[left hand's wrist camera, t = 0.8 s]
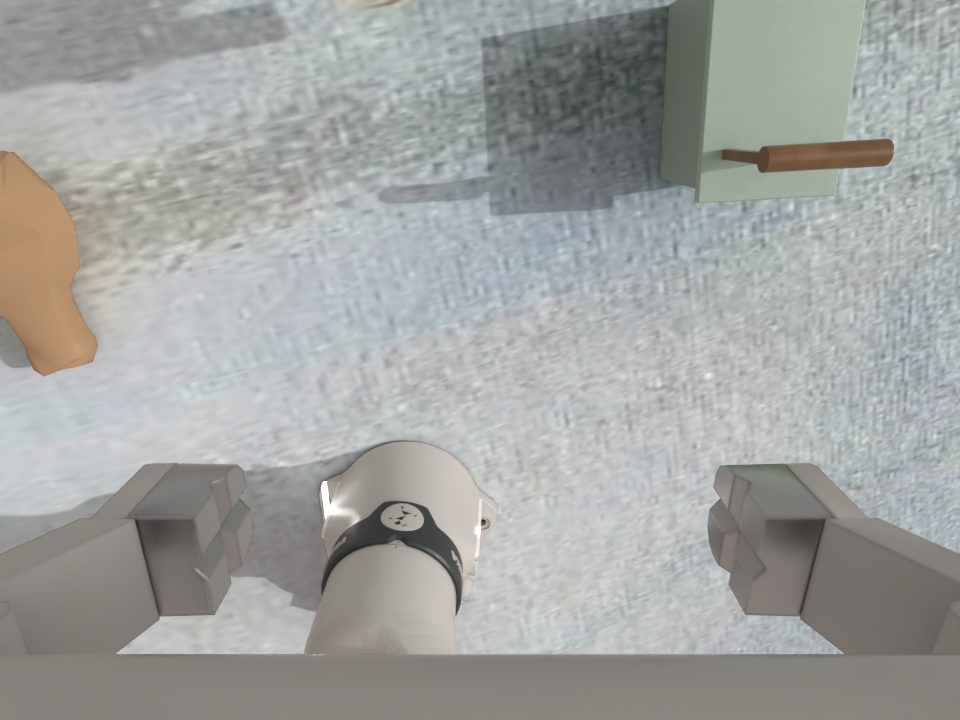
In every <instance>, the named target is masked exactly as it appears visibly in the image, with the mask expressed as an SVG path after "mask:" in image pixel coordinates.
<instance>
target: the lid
mask: <svg viewBox="0 0 960 720" xmlns="http://www.w3.org/2000/svg"><path fill="white" fill-rule="evenodd" d="M865 3H866V0H709V13H708V26H707V40H706V53H705V67H704V80H703V94H702V107H701V120H700V134H699V147H698V161H697V174H696V188H695V202H697V203H709V202H727V201H745V200H763V199H781V198H799V197H816V196H834V195H835V193H836V187H837V181H838V174H839V169H843V168H860V167H878V166H885V165H887V164H888V163H889V162H890V161H891V159H892V157H893V154H894V145H893V142H892V141H891V140H889V139H876V140H859V141H844V136H845V130H846V123H847V117H848V111H849V104H850V98H851V92H852V85H853V79H854V73H855V66H856V60H857V54H858V47H859V41H860V34H861V28H862V22H863V15H864V9H865Z"/></svg>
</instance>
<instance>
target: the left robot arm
mask: <svg viewBox="0 0 960 720" xmlns="http://www.w3.org/2000/svg"><path fill="white" fill-rule="evenodd" d="M245 489H246V482H245V477H244V472H243V470H242V469H241V467H240V466H239V465H234V464H183V463H181V464H178V463H152V464H147V465H144V466H143V467H142V468H141V469H140V470H139V471H138V472H137V473H136V474H135V475H134V476H133V477H132V478H131V479H130V480H129V481H128V482H127V483H126V484H125V485H124V486H123V487H122V488H121V489H120V490H119V491H118V492H117V493H116V494H115V495H114V496H113V497H112V498H111V499H110V500H109V501H108V502H107V503H106V504H105V505H104V506H103V507H102V508H101V509H100V510H99V511H98V512H97V513H96V514H95V515H94V516H93V517H92V518H82V519H79V520H76V521H74V522H72V523H69V524H67V525H65V526H63V527H60V528H58V529H56V530H54V531H51V532H49V533H47V534H45V535H42V536H40V537H38V538H36V539H33V540H31V541H29V542H27V543H24V544H22V545H20V546H18V547H15V548H13V549H11V550H8V551H6V552H4V553H2V554H0V720H960V554H958V553H956V552H954V551H951V550H949V549H947V548H945V547H942V546H940V545H938V544H936V543H933V542H931V541H929V540H927V539H924V538H922V537H920V536H918V535H915V534H913V533H911V532H909V531H906V530H904V529H902V528H900V527H897V526H895V525H893V524H890V523H888V522H886V521H884V520H881V519H879V518H868V517H867V516H866V515H865V514H864V513H863V512H862V511H861V510H860V509H859V508H858V507H857V506H856V505H855V504H854V503H853V502H852V501H851V500H850V499H849V498H848V497H847V496H846V495H845V494H844V493H843V492H842V491H841V490H840V489H839V488H838V487H837V486H836V485H835V484H834V483H833V482H832V481H831V480H830V479H829V478H828V477H827V476H826V475H825V474H824V473H823V472H822V471H821V470H820V469H819V468H818V467H817V466H816V465H813V464H811V463H790V464H755V465H723V466H719V468H718V471H717V473H716V476H715V481H714V489H715V490H716V492H717V493H718V495H719V497H720V499H719V500H718V501H717V502H716V503H715V504H714V505H713V506H712V507H711V508H710V511H709V519H708V537H709V544H710V547H711V551H712V554H713V556H714V558H715V560H716V562H717V564H718V565H719V566H721V567H722V568H724V569H725V570H727V571H728V572H730V573H731V574H730V579H729V586H730V588H731V589H732V591H733V593H734V595H735V597H736V598H737V600H738V602H739V604H740V606H741V607H742V609H743V611H744V613H745V615H769V616H801V618H800V619H801V620H802V621H804V622H805V623H806V624H807V625H809V626H810V627H811V628H813V629H814V630H815V631H816V632H818V633H819V634H820V635H822V636H823V637H824V638H825V639H827V640H828V641H829V642H830V643H832V644H833V645H834V646H836V647H837V648H838V649H839V650H841V651H842V652H843V653H844V654H456V634H455V617H456V615H457V613H458V610H459V607H460V604H461V601H465V602H466V601H469V599H470V596H471V593H472V589H473V580H472V579H471V578H470V576H471V575H473V576H475V574H476V572H477V568H478V562H477V560H478V558H479V556H480V554H481V551H482V549H483V547H484V545H485V542H486V540H487V538H488V536H489V533H490V531H491V529H492V526H493V524H494V522H495V520H496V517H497V510H498V509H497V506H496V504H495V503H494V502H493V501H492V500H491V499H490V498H489V497H487V496H486V495H485V494H484V493H482V492H481V491H479V489H478V488H477V487H476V485H475V483H474V481H473V480H472V478H471V476H470V474H469V473H468V471H467V470H466V469H465V467H464V466H463V465H462V464H461V463H460V462H459V461H458V460H457V459H456V458H454V457H453V456H452V455H450V454H449V453H447V452H445V451H443V450H442V449H439V448H437V447H434V446H432V445H428V444H425V443H420V442H411V441H401V442H393V443H388V444H384V445H381V446H378V447H376V448H373V449H371V450H370V451H368V452H366V453H365V454H363V455H362V456H361V457H359V458H358V459H357V460H356V461H355V462H354V463H353V464H352V465H351V466H350V468H349V469H347V470H346V471H345V472H344V473H342V474H339V475H337V476H334V477H332V478H330V479H328V480H326V481H325V482H323V483H322V484H321V486H320V490H319V500H320V506H321V512H322V518H323V524H324V526H323V529H322V534H321V538H322V539H323V540H325V549H326V553H327V557H328V559H327V562H326V565H325V568H324V573H323V575H324V576H323V580H322V586H321V589H322V598H321V601H320V604H319V607H318V610H317V613H316V616H315V619H314V622H313V624H312V627H311V630H310V633H309V636H308V639H307V642H306V646H305V650H304V654H116V653H117V652H118V651H120V650H121V649H122V648H123V647H125V646H126V645H127V644H128V643H130V642H131V641H132V640H134V639H135V638H136V637H137V636H139V635H140V634H141V633H143V632H144V631H145V630H146V629H148V628H149V627H150V626H151V625H153V624H154V623H155V622H157V621H158V620H159V619H160V618H159V616H190V615H215V613H216V611H217V609H218V608H219V606H220V604H221V602H222V600H223V598H224V597H225V595H226V593H227V591H228V589H229V588H230V586H231V579H230V574H229V573H230V572H232V571H233V570H235V569H236V568H238V567H239V566H241V565H242V564H243V562H244V560H245V558H246V556H247V554H248V551H249V547H250V542H251V538H252V517H251V511H250V508H249V507H248V506H247V505H246V504H245V503H244V502H243V501H242V500H241V499H240V497H241V495H242V493H243V492H244V490H245ZM329 500H331V502H330V501H329ZM481 519H484V520H485V521H484V522H481Z"/></svg>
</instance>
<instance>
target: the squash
mask: <svg viewBox="0 0 960 720" xmlns="http://www.w3.org/2000/svg"><path fill="white" fill-rule="evenodd" d="M79 266H80V261H79V252H78V244H77V236H76V228H75V224H74V223H73V221H72V219H71V217H70V216H69V214H68V212H67V210H66V209H65V207H64V205H63V203H62V201H61V200H60V198H59V196H58V194H57V193H56V191H55V190H54V189H53V188H52V187H50V186H49V185H48V184H47V183H46V182H45V181H44V180H43V179H42V178H41V177H40V176H39V175H38V174H37V173H35V172H34V171H33V170H32V169H31V168H30V167H29V166H28V165H27V164H26V163H25V162H24V161H23V160H22V159H20V158H19V157H18V156H17V155H16V154H15V153H14V152H5V151H0V316H1V317H3V318H4V319H6V320H7V321H8V322H9V324H10V325H11V327H12V328H13V330H14V331H15V333H16V334H17V336H18V337H19V339H20V340H21V342H22V343H23V345H24V346H25V348H26V352H27V357H28V359H29V361H30V363H31V365H32V367H33V369H34V370H35V371H36V372H38V373H39V374H41V375H42V376H46V375H49V374H51V373H54V372H56V371H59V370H63V369H67V368H72V367H77V366H81V365H84V364H87V363H90V362H92V361H93V359H94V356H95V354H96V351H97V341H96V337H95V336H94V334H93V333H92V332H91V331H90V330H89V328H88V327H87V326H86V324H85V322H84V320H83V318H82V316H81V313H80V311H79V309H78V307H77V305H76V303H75V300H74V298H73V294H72V289H71V285H70V284H71V282H72V280H73V278H74V276H75V274H76V272H77V270H78V268H79Z"/></svg>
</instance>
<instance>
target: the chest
mask: <svg viewBox="0 0 960 720" xmlns="http://www.w3.org/2000/svg"><path fill="white" fill-rule="evenodd" d="M708 13H709V0H676V1H675V2H673V3H672V4H670V5H669V8H668V26H667V45H666V64H665V83H664V102H663V121H662V140H661V159H660V178H662V179H665V180H668V181H672V182H675V183H679V184H682V185H686V186H689V187H693V188H696V174H697V161H698V147H699V134H700V120H701V107H702V94H703V80H704V67H705V53H706V40H707V26H708Z"/></svg>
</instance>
